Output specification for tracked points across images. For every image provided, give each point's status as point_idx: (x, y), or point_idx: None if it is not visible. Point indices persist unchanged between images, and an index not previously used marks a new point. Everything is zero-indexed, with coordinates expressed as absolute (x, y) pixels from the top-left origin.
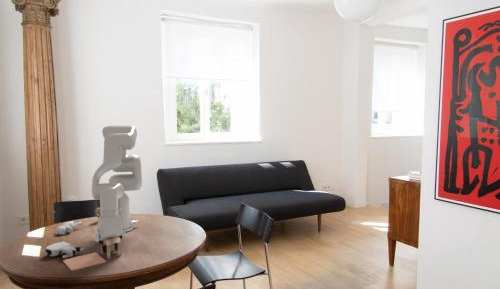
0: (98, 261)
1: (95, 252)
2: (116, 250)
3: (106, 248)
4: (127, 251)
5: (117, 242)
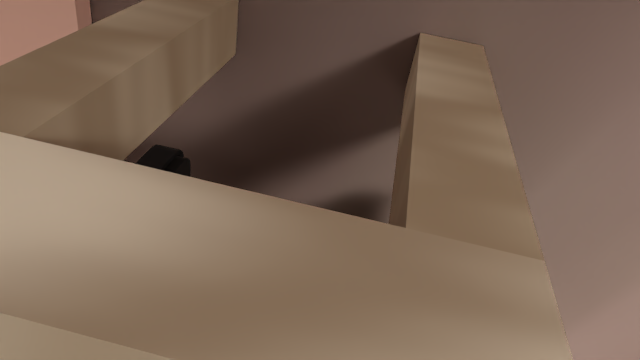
0: None
1: None
2: None
3: None
4: (571, 315)
5: None
